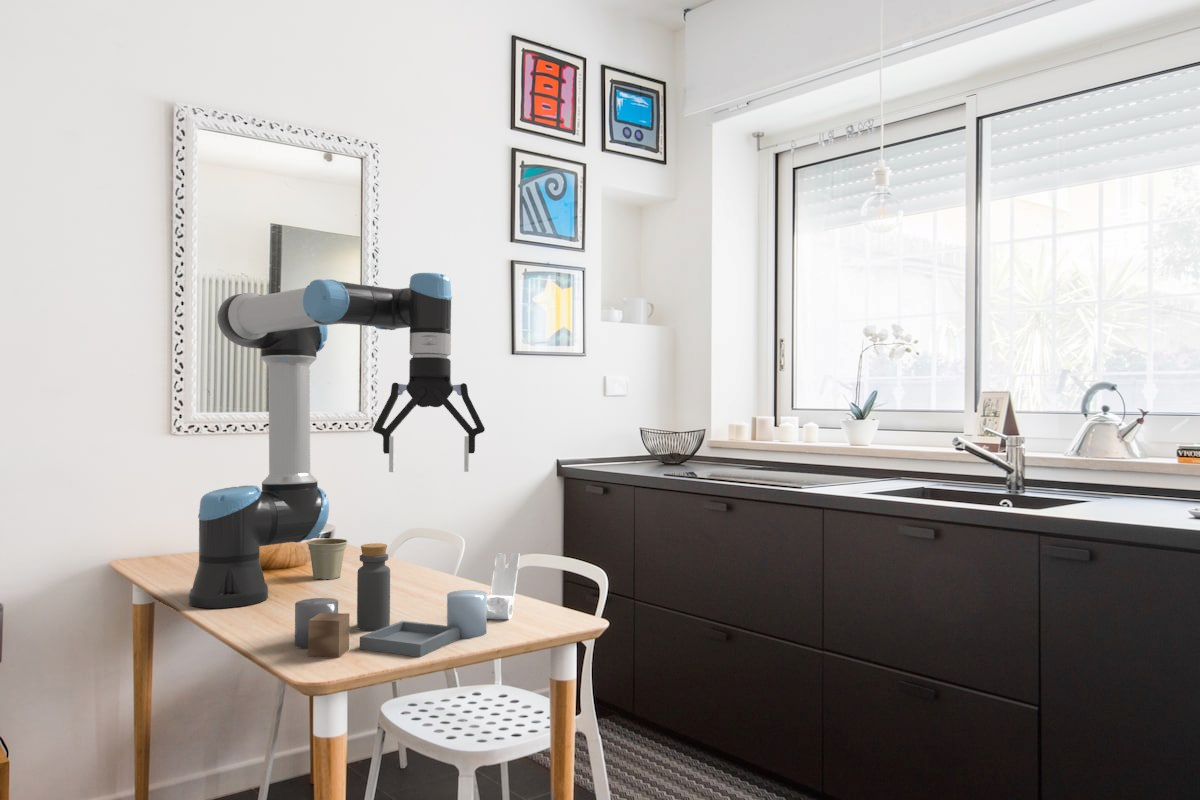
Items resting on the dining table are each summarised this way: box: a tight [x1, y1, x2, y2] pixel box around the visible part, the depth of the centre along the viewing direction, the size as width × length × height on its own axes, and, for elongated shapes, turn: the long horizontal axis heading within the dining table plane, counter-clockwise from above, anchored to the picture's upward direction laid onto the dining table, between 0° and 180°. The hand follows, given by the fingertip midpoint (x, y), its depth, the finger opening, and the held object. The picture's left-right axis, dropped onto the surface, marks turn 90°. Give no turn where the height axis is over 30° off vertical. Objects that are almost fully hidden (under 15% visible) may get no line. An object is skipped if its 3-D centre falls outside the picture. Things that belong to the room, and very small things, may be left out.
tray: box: [359, 620, 461, 658], centre depth 147 cm, size 12×12×2 cm
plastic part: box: [487, 551, 521, 621], centre depth 168 cm, size 8×10×12 cm
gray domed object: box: [294, 597, 339, 650], centre depth 147 cm, size 7×7×7 cm
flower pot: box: [306, 538, 349, 581], centre depth 204 cm, size 9×9×9 cm
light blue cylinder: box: [446, 589, 488, 639], centre depth 154 cm, size 7×7×7 cm
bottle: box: [356, 542, 391, 632], centre depth 158 cm, size 6×6×15 cm
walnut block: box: [307, 612, 350, 659], centre depth 141 cm, size 5×5×6 cm
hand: (429, 471), depth 159 cm, fingers open, 13 cm apart
